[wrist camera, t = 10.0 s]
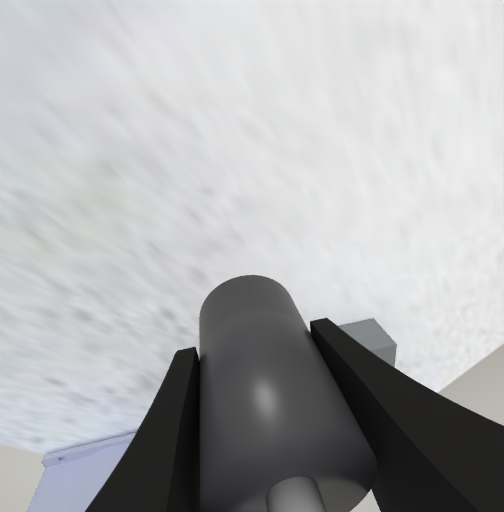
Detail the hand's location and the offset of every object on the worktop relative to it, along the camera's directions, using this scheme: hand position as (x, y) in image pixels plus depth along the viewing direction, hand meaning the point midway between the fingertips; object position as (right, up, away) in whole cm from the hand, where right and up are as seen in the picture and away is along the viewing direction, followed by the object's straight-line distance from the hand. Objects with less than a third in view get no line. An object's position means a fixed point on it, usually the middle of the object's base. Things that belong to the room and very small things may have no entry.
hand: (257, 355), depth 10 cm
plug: (0, +1, +2) cm, 2 cm away
